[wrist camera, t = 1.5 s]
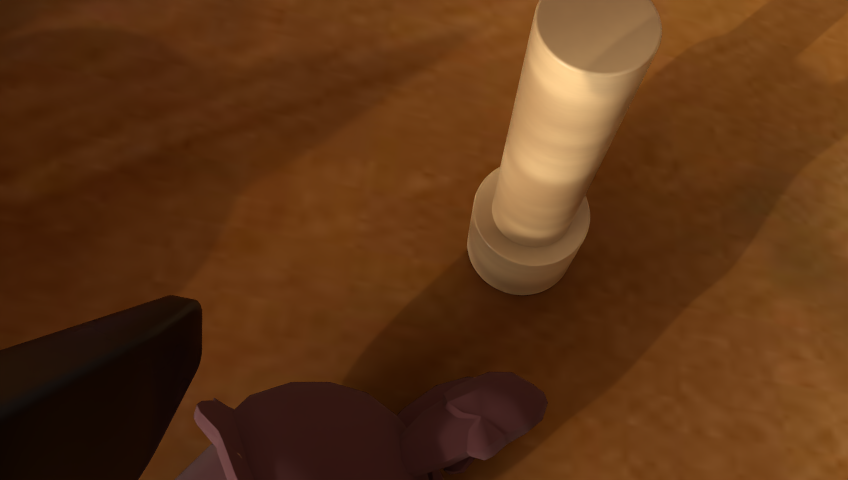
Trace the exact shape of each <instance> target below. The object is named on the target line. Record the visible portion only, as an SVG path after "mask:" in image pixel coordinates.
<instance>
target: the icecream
mask: <svg viewBox="0 0 848 480" xmlns="http://www.w3.org/2000/svg"><path fill="white" fill-rule="evenodd" d="M547 404H548V402H547V399H546V396H545V394H544V392H542V391H541V390H540V389H538V388H537V387H536V386H534V385H533V384H531V383H530V382H528V381H526V380H525V379H523V378H521V377H519V376H518V375H516V374H514V373H512V372H487V373H485V374H482V375H480V376H477V377H475V378H474V377H465V378H461V379H458V380H454V381H450V382H447V383H443V384H439V385H436V386H435V387H433V388H432V389H430V390H429V391H428V392H426V393H425V394H423V395H422V396H420V397H419V398H418V399H416V400H415V401H413V402H412V403H411V404H409V405H408V406H406V407H405V408H403V410H402V411H401V412H400V413H399V414H398V415H397V416H396V415H395V414H394V413H393V412H391V411H390V410H389V409H388V408H386V407H385V406H384V405H382V404H381V403H380V402H379V401H377V400H376V399H375V398H373V397H372V396H371V395H370V394H368V393H366V392H363V391H359V390H356V389H352V388H349V387H345V386H342V385H338V384H335V383H331V382H290V383H287V384H284V385H281V386H278V387H275V388H271V389H268V390H265V391H262V392H259V393H256V394H253V395H250V396H249V397H247V398H246V399H245V400H244V401H243V402H242V403H241V404H240V405H239V406H238V407H237V408H236V409H235V410H234V409H232V408H230V407H228V406H226V405H225V404H223V403H222V402H220V401H218V400H217V399H215V398H214V400H213V401H201V402H200V403H198V404H197V406H196V409H195V413H194V419H195V421H196V424H197V425H198V426H199V428H200V429H201V430H202V431H203V432H204V434H205V435H206V436H207V437H208V438H209V439H210V441H211V442H212V444H211V445H210V446H209V447H208V448H207V449H206V450H205V451H204V452H203V453H202V454H201V455H200V456H199V457H198V458H197V459H196V460H195V461H194V462H192V463H191V464H190V465H189V466H188V467H187V468H186V469H185V470H184V471H183V472H182V473H181V474H180V475H179V476H178V477H177V478H176V479H175V480H443V476H442V474H441V472H440V471H439V469H442V468H444V470H445V471H446V472H447V473H448V474H449V475H450V474H456V473H464V471H465V470H466V469H467V468H468V466H469V465H470V464H471V463H472V461H473V460H474V459H475V458H478V459H482V460H486V459H488V458H491V457H493V456H494V455H495V454H497V453H498V452H499V451H500V450H501V449H502V448H503V447H504V446H505V445H506V444H508V443H510V442H512V441H513V440H515V439H517V438H519V437H520V436H522V435H524V434H526V433H527V432H528V431H529V430H530V429H532V428H533V427H534V426H535V425H537V424H538V423H539V422H540V421H542V419H543V416H544V413H545V410H546V407H547Z"/></svg>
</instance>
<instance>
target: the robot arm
mask: <svg viewBox="0 0 848 480" xmlns="http://www.w3.org/2000/svg"><path fill="white" fill-rule="evenodd" d="M201 355H202V308H201V305H200V303H199V302H198V301H197V300H194V299H189V298H184V297H179V296H174V295H169V296H165V297H162V298H159V299H156V300H153V301H150V302H147V303H144V304H141V305H138V306H135V307H132V308H129V309H126V310H123V311H119V312H116V313H113V314H110V315H107V316H104V317H101V318H98V319H95V320H92V321H89V322H86V323H83V324H80V325H76V326H73V327H70V328H67V329H64V330H61V331H58V332H55V333H52V334H49V335H46V336H43V337H40V338H37V339H34V340H30V341H27V342H24V343H21V344H18V345H15V346H12V347H9V348H6V349H3V350H0V480H138V479H139V477H140V476H141V474H142V473H143V471H144V470H145V468H146V466H147V465H148V463H149V462H150V460H151V458H152V456H153V454H154V453H155V451H156V449H157V447H158V445H159V443H160V441H161V439H162V438H163V436H164V434H165V432H166V430H167V428H168V426H169V424H170V422H171V420H172V418H173V416H174V414H175V412H176V410H177V408H178V406H179V404H180V402H181V400H182V399H183V397H184V395H185V393H186V391H187V389H188V387H189V385H190V383H191V381H192V379H193V377H194V375H195V373H196V371H197V369H198V367H199V364H200V360H201Z"/></svg>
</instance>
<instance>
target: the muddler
mask: <svg viewBox="0 0 848 480" xmlns="http://www.w3.org/2000/svg"><path fill="white" fill-rule="evenodd" d="M661 37H662V26H661V20H660V17H659V14H658V12H657V9H656V8H655V6H654V4H653V3H652V2H651V0H540V1H539V3H538V5H537V7H536V10H535V14H534V18H533V23H532V27H531V32H530V36H529V41H528V45H527V50H526V54H525V59H524V63H523V68H522V72H521V77H520V81H519V85H518V90H517V94H516V99H515V103H514V108H513V112H512V117H511V121H510V126H509V130H508V135H507V139H506V144H505V148H504V153H503V157H502V162H501V166H500V167H499V168H497V169H496V170H494V171H493V172H492V173H490V174H489V175H488V176H487V177H486V178H485V179H484V180H483V182H482V183H481V185H480V186H479V188H478V190H477V192H476V195H475V199H474V204H473V210H472V216H471V222H470V228H469V234H468V241H467V247H468V254H469V258H470V261H471V263H472V265H473V267H474V269H475V270H476V272H477V273H478V274H479V276H480V277H481V278H482V279H483V280H484V281H485V282H487V283H488V284H489V285H491V286H492V287H494V288H496V289H498V290H500V291H503V292H506V293H509V294H514V295H531V294H536V293H539V292H542V291H545V290H547V289H549V288H550V287H552V286H553V285H555V284H556V283H557V282H558V281H559V280H560V279H561V278H562V277H563V275H564V274H565V272H566V271H567V269H568V267H569V265H570V264H571V262H572V260H573V258H574V257H575V255H576V253H577V251H578V250H579V248H580V246H581V244H582V243H583V241H584V239H585V237H586V235H587V232H588V229H589V225H590V209H589V204H588V201H587V198H586V196H585V195H586V193H587V191H588V189H589V187H590V185H591V183H592V180H593V178H594V176H595V174H596V172H597V170H598V168H599V166H600V164H601V162H602V160H603V158H604V156H605V154H606V152H607V150H608V148H609V146H610V144H611V142H612V140H613V138H614V136H615V134H616V132H617V130H618V128H619V126H620V124H621V122H622V120H623V118H624V116H625V114H626V112H627V110H628V108H629V106H630V104H631V102H632V100H633V98H634V96H635V94H636V92H637V90H638V88H639V86H640V84H641V82H642V80H643V78H644V76H645V74H646V72H647V70H648V68H649V66H650V64H651V62H652V60H653V58H654V56H655V54H656V52H657V50H658V47H659V45H660V42H661Z"/></svg>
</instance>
